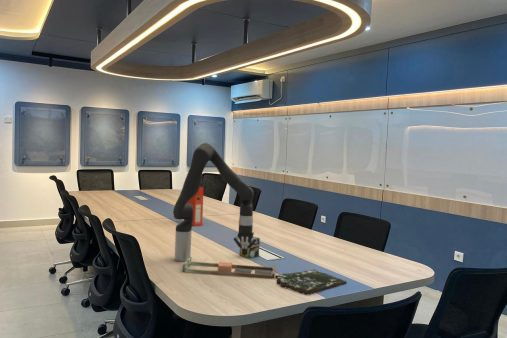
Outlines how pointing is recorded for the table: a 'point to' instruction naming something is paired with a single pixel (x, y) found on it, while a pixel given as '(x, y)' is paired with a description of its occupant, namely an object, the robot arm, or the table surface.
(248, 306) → the table surface
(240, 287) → the table surface
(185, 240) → the robot arm
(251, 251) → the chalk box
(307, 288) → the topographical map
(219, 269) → the block
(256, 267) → the lane
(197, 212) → the file binder
